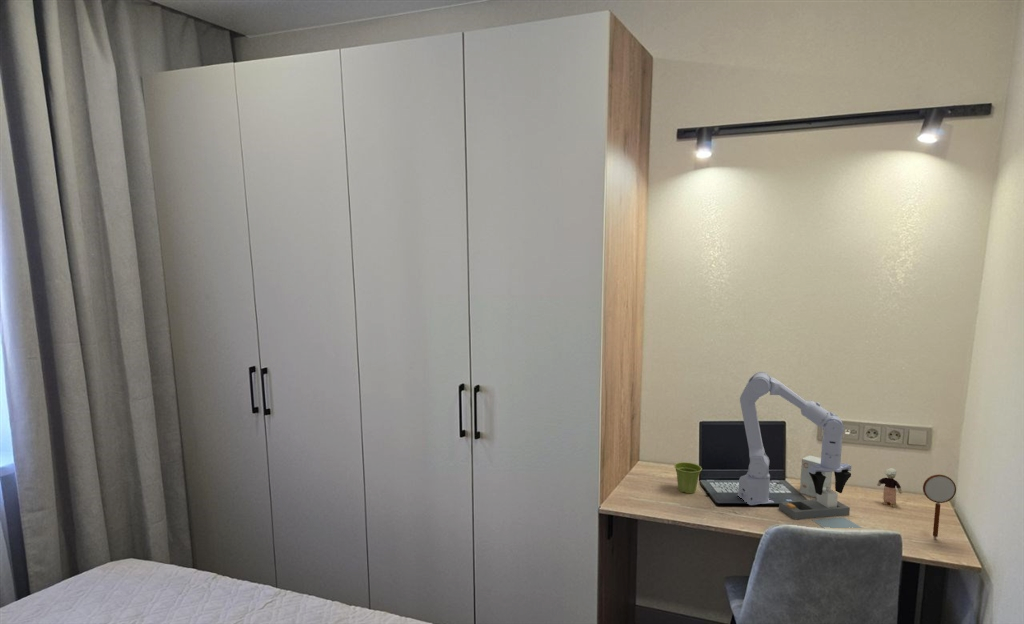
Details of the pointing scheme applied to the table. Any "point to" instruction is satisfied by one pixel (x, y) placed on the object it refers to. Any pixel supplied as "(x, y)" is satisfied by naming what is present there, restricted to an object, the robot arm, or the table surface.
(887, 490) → the grandmother figurine
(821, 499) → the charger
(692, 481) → the plant pot
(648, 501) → the table surface
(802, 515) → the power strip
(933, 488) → the magnifying glass
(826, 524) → the mat
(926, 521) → the table surface
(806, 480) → the small box
